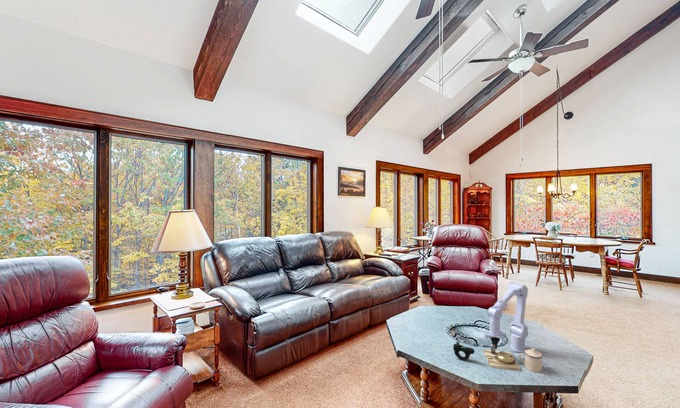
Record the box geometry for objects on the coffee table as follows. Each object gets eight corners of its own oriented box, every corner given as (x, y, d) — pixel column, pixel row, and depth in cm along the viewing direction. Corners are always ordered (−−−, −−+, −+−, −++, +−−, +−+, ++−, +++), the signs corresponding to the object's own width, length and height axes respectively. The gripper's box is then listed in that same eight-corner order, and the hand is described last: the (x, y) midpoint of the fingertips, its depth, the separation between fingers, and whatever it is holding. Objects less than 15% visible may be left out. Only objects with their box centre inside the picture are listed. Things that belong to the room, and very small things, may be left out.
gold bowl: (515, 359, 184) (515, 347, 184) (511, 365, 177) (511, 353, 177) (493, 352, 193) (493, 341, 193) (488, 357, 186) (488, 345, 186)
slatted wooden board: (483, 351, 197) (483, 349, 197) (510, 354, 193) (510, 352, 193) (490, 367, 179) (490, 364, 179) (520, 371, 175) (520, 368, 175)
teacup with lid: (542, 367, 179) (542, 347, 179) (542, 374, 171) (542, 354, 171) (519, 361, 186) (519, 342, 185) (518, 368, 178) (518, 348, 178)
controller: (454, 355, 193) (454, 339, 193) (474, 361, 186) (474, 344, 186) (452, 358, 190) (452, 342, 189) (473, 364, 183) (473, 347, 182)
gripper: (488, 330, 185) (488, 352, 185) (509, 328, 188) (509, 350, 188) (481, 326, 192) (481, 347, 192) (501, 324, 194) (501, 345, 195)
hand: (494, 348), depth 190 cm, fingers closed
